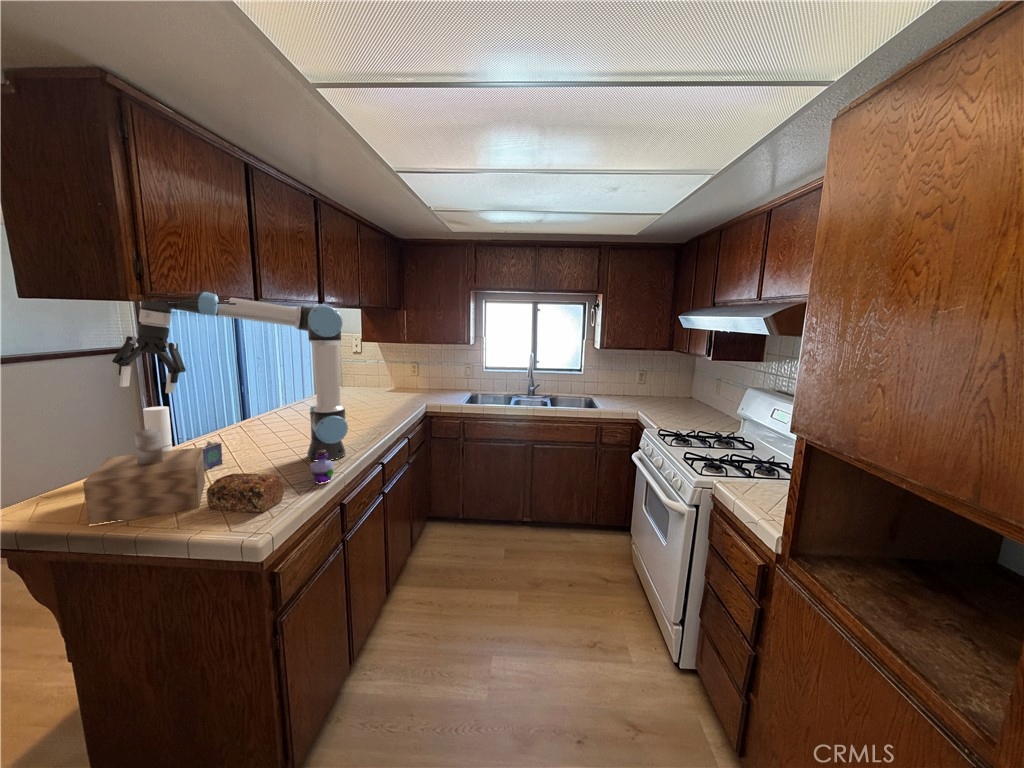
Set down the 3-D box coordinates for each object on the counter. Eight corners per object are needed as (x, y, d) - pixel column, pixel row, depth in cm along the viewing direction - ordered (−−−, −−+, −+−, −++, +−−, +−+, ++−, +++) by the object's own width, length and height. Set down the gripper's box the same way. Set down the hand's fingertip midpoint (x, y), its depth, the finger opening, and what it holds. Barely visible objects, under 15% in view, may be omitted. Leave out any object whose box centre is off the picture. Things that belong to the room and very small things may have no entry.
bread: (285, 500, 131) (283, 471, 130) (261, 515, 121) (259, 484, 119) (233, 496, 133) (231, 467, 132) (205, 510, 123) (203, 479, 121)
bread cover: (205, 481, 144) (200, 419, 141) (198, 507, 124) (192, 436, 121) (112, 495, 131) (104, 427, 127) (88, 527, 111) (78, 447, 108)
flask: (204, 471, 154) (202, 444, 152) (197, 471, 154) (195, 444, 153) (224, 463, 163) (222, 438, 161) (218, 463, 163) (216, 437, 162)
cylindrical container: (175, 468, 156) (169, 405, 152) (173, 474, 150) (167, 409, 147) (150, 471, 152) (144, 407, 148) (148, 477, 146) (141, 410, 143)
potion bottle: (330, 486, 143) (329, 454, 142) (305, 486, 143) (304, 454, 141) (339, 477, 152) (338, 447, 150) (315, 477, 151) (314, 446, 150)
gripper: (101, 317, 124) (94, 384, 125) (187, 330, 127) (180, 396, 128) (122, 319, 131) (115, 382, 132) (203, 332, 134) (195, 394, 135)
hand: (147, 389), depth 130 cm, fingers open, 13 cm apart
